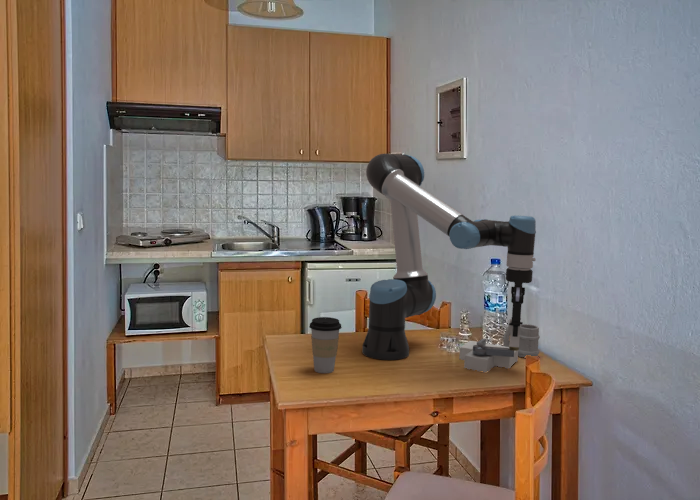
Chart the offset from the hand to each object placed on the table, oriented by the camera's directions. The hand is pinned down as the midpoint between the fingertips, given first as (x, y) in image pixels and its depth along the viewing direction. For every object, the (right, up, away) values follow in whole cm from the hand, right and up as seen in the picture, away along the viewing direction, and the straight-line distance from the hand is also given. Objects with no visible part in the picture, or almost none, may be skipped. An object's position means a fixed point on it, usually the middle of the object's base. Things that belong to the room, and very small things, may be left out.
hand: (514, 346), depth 190 cm
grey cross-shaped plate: (-5, -6, +12) cm, 15 cm away
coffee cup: (-57, -7, -3) cm, 57 cm away
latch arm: (-5, -3, +3) cm, 7 cm away
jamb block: (-10, -7, +4) cm, 13 cm away
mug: (+7, -6, +19) cm, 21 cm away
